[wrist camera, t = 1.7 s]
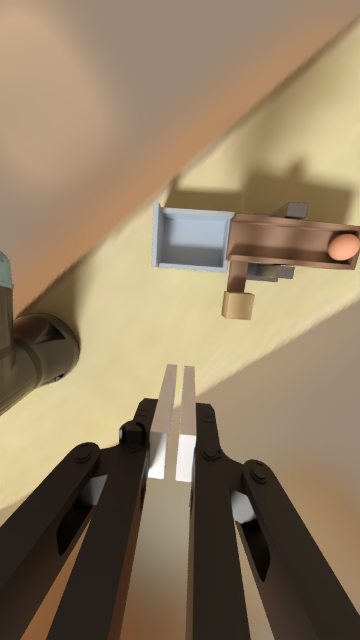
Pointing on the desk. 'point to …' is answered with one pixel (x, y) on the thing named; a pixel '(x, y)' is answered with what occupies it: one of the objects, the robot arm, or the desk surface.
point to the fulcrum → (271, 270)
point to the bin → (190, 239)
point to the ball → (344, 247)
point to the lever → (277, 252)
